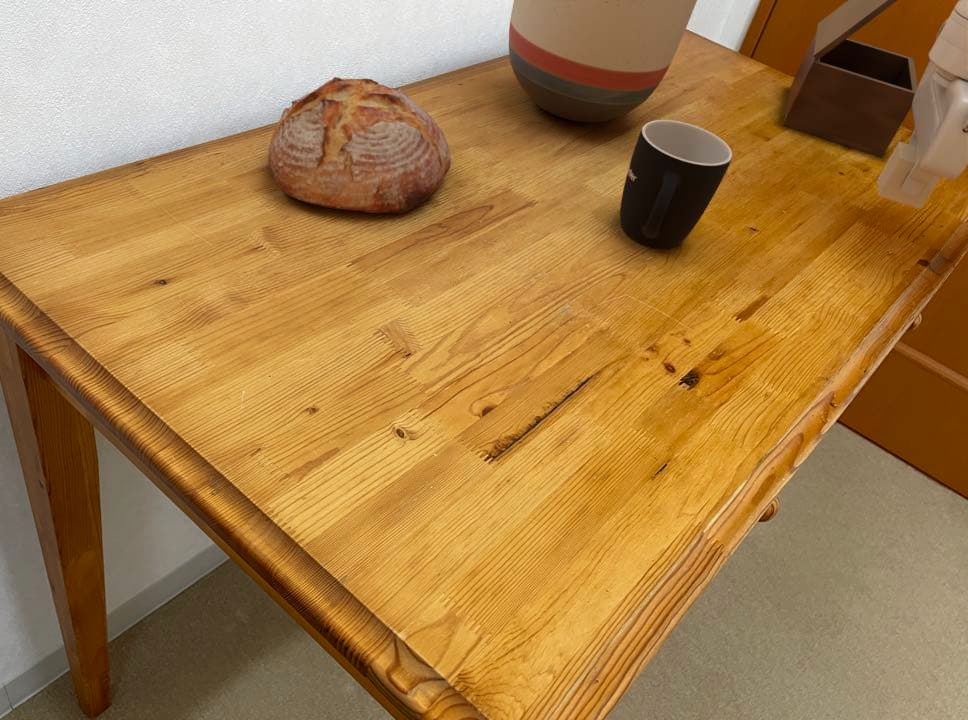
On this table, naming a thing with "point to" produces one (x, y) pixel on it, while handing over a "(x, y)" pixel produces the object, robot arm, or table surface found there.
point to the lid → (846, 22)
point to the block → (896, 173)
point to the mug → (671, 181)
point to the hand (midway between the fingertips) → (906, 180)
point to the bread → (358, 149)
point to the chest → (852, 95)
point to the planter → (594, 52)
